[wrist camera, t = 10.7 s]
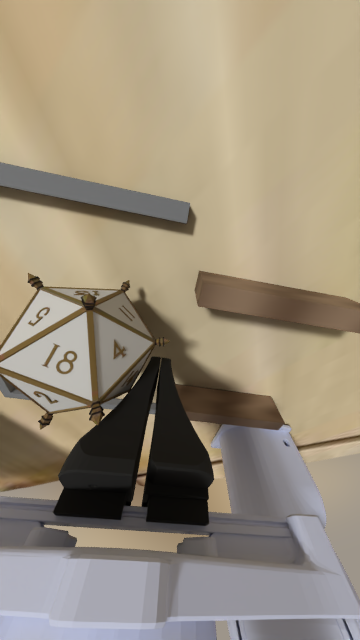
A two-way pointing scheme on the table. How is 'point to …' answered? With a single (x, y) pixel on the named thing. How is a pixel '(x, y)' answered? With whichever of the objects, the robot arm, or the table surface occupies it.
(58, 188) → the frame
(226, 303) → the walnut chute
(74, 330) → the game die
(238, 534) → the robot arm
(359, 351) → the table surface
